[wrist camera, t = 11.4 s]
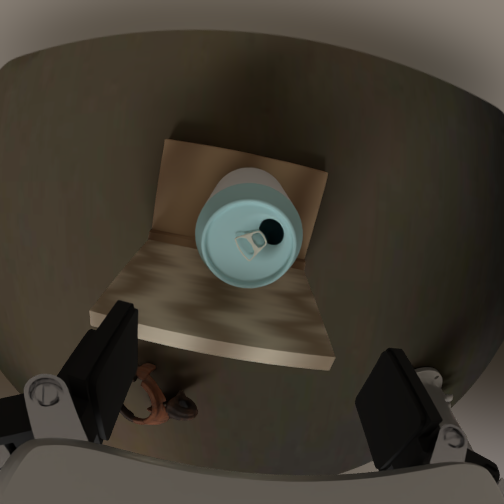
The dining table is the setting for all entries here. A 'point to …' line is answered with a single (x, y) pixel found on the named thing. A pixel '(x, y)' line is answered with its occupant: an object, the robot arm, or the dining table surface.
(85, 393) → the robot arm
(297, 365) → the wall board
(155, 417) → the vr controller
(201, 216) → the can
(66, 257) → the dining table surface
